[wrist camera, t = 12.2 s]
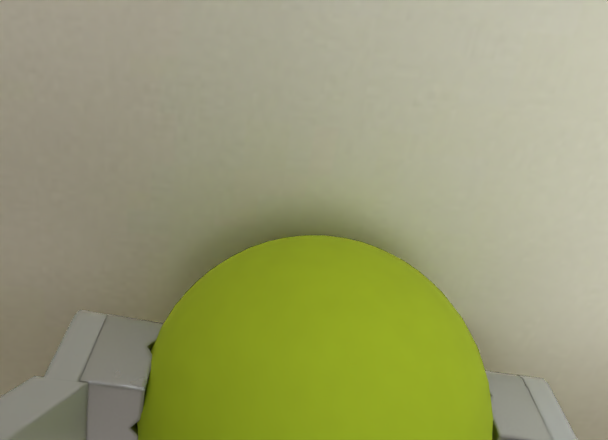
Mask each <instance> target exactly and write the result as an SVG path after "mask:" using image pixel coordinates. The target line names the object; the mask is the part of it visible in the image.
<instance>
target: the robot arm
mask: <svg viewBox="0 0 608 440" xmlns="http://www.w3.org/2000/svg"><path fill="white" fill-rule="evenodd" d="M163 324H164V323H158V322H152V321H147V320H141V319H135V318H129V317H123V316H117V315H112V314H109V315H107V314H102V313H96V312H91V311H85V310H79V311H78V312H77V313H76V314H75V315H74V317H73V319H72V321H71V323H70V325H69V327H68V329H67V331H66V333H65V335H64V337H63V339H62V341H61V343H60V345H59V347H58V349H57V351H56V353H55V355H54V357H53V359H52V361H51V363H50V365H49V367H48V369H47V371H46V373H45V375H44V377H39V376H34V377H32V378H30V379H29V380H27V381H25V382H24V383H22V384H20V385H19V386H17V387H15V388H14V389H12V390H11V391H9V392H7V393H6V394H4V395H2V396H1V397H0V440H138V429H137V422H138V421H139V420H140V418H141V413H142V411H143V406H144V400H145V394H146V389H147V384H148V379H149V375H150V370H151V360H152V354H151V352H150V351H151V349H152V347H153V345H154V343H155V341H156V339H157V336H158V334H159V331H160V329H161V327H162V325H163ZM485 372H486V375H487V379H488V382H489V389H490V396H491V405H492V413H493V432H492V440H578V439H577V437H576V435H575V433H574V432H573V430H572V428H571V426H570V424H569V422H568V420H567V418H566V416H565V414H564V412H563V411H562V409H561V407H560V405H559V403H558V401H557V399H556V397H555V395H554V393H553V391H552V389H551V388H550V386H549V384H548V383H547V382H546V381H545V380H544V379H543V378H538V377H530V376H522V375H512V374H505V373H498V372H491V371H485Z"/></svg>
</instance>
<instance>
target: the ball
mask: <svg viewBox="0 0 608 440" xmlns="http://www.w3.org/2000/svg"><path fill="white" fill-rule="evenodd" d="M150 352H151V354H152V360H151V370H150V375H149V379H148V384H147V389H146V394H145V400H144V406H143V411H142V413H141V418H140V420H139V421H138V422H137V429H138V440H492V432H493V413H492V405H491V396H490V389H489V382H488V379H487V375H486V372H485V369H484V365H483V362H482V359H481V356H480V353H479V350H478V348H477V346H476V344H475V342H474V340H473V338H472V336H471V334H470V332H469V330H468V328H467V326H466V324H465V323H464V321H463V319H462V317H461V316H460V315H459V313H458V312H457V311H456V310H455V308H454V307H453V306H452V304H451V303H450V302H449V301H448V299H447V298H446V297H445V295H444V294H443V293H442V292H441V291H440V290H439V289H438V288H437V287H436V286H435V285H434V284H433V283H432V282H431V281H430V280H429V279H427V278H426V277H425V276H424V275H423V274H421V273H420V272H419V271H418V270H416V269H415V268H413V267H412V266H411V265H409V264H408V263H406V262H405V261H403V260H401V259H399V258H398V257H396V256H394V255H392V254H390V253H388V252H386V251H384V250H382V249H379V248H377V247H374V246H371V245H369V244H366V243H363V242H360V241H355V240H351V239H347V238H342V237H333V236H325V235H304V236H294V237H286V238H281V239H277V240H272V241H268V242H265V243H262V244H259V245H256V246H253V247H250V248H248V249H246V250H244V251H242V252H240V253H238V254H236V255H234V256H232V257H230V258H228V259H227V260H225V261H224V262H222V263H220V264H219V265H217V266H216V267H214V268H213V269H211V270H210V271H209V272H207V273H206V274H205V275H204V276H203V277H202V278H201V279H199V280H198V281H197V282H196V283H195V284H194V285H193V286H192V287H191V288H190V289H189V290H188V291H187V292H186V293H185V294H184V296H183V297H182V298H181V299H180V300H179V301H178V303H177V304H176V305H175V306H174V308H173V309H172V311H171V313H170V314H169V316H168V317H167V319H166V321H165V322H164V324H163V325H162V327H161V329H160V331H159V334H158V336H157V339H156V341H155V343H154V345H153V347H152V349H151V351H150Z"/></svg>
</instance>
